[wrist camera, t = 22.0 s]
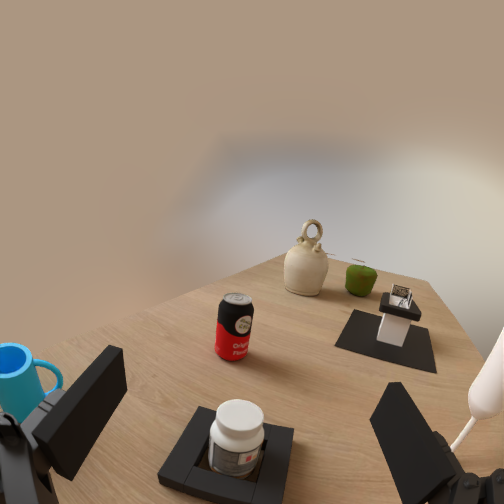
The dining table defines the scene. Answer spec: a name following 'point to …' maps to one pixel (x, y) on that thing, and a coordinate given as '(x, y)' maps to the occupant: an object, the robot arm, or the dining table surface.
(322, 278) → the jug
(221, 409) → the pill bottle
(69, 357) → the dining table surface
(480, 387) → the champagne flute
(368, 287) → the apple
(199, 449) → the dock pad
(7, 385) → the mug
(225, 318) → the beverage can
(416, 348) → the black-topped pedestal
